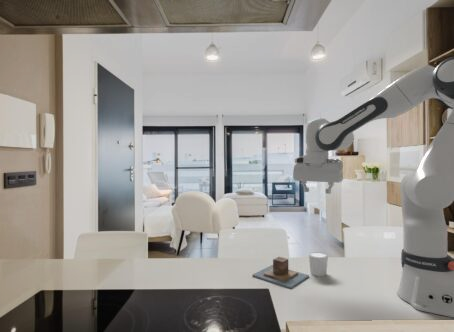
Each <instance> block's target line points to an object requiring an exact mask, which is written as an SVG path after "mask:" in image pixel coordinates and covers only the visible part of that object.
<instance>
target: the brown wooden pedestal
mask: <svg viewBox="0 0 454 332" xmlns="http://www.w3.org/2000/svg"><path fill="white" fill-rule="evenodd" d="M272 265H273V269H271V270H269V271H267V272H265V273H264V276H267V277H270V278H273V279H276V280H280V281H283V282H287V281H288V280H290V279H291V278H293V277H295V276H296V275H298V271H296V272H295V270H292V271H291V269H289V258H286V257H282V256H278V257H276V258H273V259H272Z"/></svg>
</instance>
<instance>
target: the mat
mask: <svg viewBox="0 0 454 332" xmlns="http://www.w3.org/2000/svg"><path fill="white" fill-rule="evenodd" d="M271 269H273V264H271V265H269V266H267V267H265V268H263V269H261V270H259V271H257V272H255V273H253V274H252V277H254V278H256V279H260V280H263V281H267V282H269V283H272V284H275V285H278V286H281V287H284V288H287V289H293V288H295V287H296V286H297V285H299V284H300V283H302V282H303V281H305V280H306V279H308V278H310V275H309V274H307V273H303V272H298V271H295V270H294V271H295V272H298V275H296V276H295V277H293V278H291V279H290V280H288V281H287V282H283V281H280V280H276V279H273V278H270V277H267V276H264V273H265V272H267V271H269V270H271ZM290 270H291V269H290ZM291 271H293V270H291Z"/></svg>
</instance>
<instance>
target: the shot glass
mask: <svg viewBox="0 0 454 332" xmlns="http://www.w3.org/2000/svg"><path fill="white" fill-rule="evenodd" d="M328 258H329V255H328V254H326V253H324V252H318V251H317V252H316V251H315V252H310V253H308V259H309V261H308V262H309V271H310V274H311V275H313V276H316V277H324V276H327V270H328V269H327V268H328Z"/></svg>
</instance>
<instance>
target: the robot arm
mask: <svg viewBox="0 0 454 332" xmlns="http://www.w3.org/2000/svg"><path fill="white" fill-rule="evenodd" d="M429 99H436V101H437V102H438V103H439V104H442V105H443V106H445V107H447V108H449V109H450V110H451V113H450V114H449V116H448V117H447V119H446V120H445V121H444V123H443V125H442V126H441V127H440V129H439V131H437V133H436V135H435V136H434V138H433V139H432V141H431V142H430V144H429V145H428V147H427V150H426V151H425V154H424V156H423V158H422V160H421V162H420V164H419V166H418V168H417V169H416V170H411V171H410V172H408V173H406V174H405V175H404V176H403V178H402V179H401V181H400V201H401V202H400V203H401V213H402V216H401V217H402V223H403V225H402V226H403V230H402V231H403V232H402V234H403V236H402V237H403V240H402V241H403V246H402V247H403V248H402V249H401V252H400V253H401V257H400V261H401V262H400V263H401V268H402V271H401V278H400V283H399V286H398V289H397V291H396V292H397V295H398V297H399V298H401V299H402V301H403V300H404V301H405V302H407V303H409V304H410V305H411V306H412V307H413V308H414V309H416V310H418V311H422V312H426V313H430V314H435V315H439V316H445V317H450V318H454V257H452V256H450V255H449V254H448V226H447V223H446V218H445V214H444V209H445V208H447V207H449V206H450V205H451V204H453V202H454V56H451V57H448V58H446V59H444V60H442V61H441V62H439V64H438V65H436V67H434V66H432V65H429V64H423V65H421V66H418V67H416V68H414V69H411V71H409V72H406V73H405V74H403V75H402V76H400V77H399V78H398V79H396V80H394V81H393V82H392V83H390V84H388V86H386V87H385V88H384V89H382V90H381V91H380V92H378V93H377V94H376V95H374V96H373V97H372V98H370V99H369V100H367V101H366V102H364V103H362V104H361V105H358V107H356V108H354V109H353V110H352V111H350V112H348V113H347V114H345V115H344V116H342V117H340V118H338V119H337V120H334V121H328V120H327V118H316V119H312V120H310V121H309V122H308V123H307V125H306V129H305V130H306V131H305V144H306V150H305V154H304V155H302V156H299V157H296V158H294V163H295V164H294V166H293V170H292V171H293V173H292V178H293V180H294V181H295V182H296V181H297V182H301V183H300V184H301V186H302V188H303V192H304V193H309V192H310V187H308V186H307V183H308V182H313V183H314V182H316V183H317V182H318V183H319V182H321V183H328V184H327V185H328V187H327V188H325V194H331V193H332V188H333V187H334V185H335V184H334V183H342V182H343V180H344V175H343V161H342V160H340V159H339V158H329V151H345V150H347V149H349V148H350V147H351V146H352V145H353V143H354V139H355V138H354V133H353V132H355V131H357V130H359V129H361V128H362V127H364V126H365V125H367V124H368V123H370V122H373V121H376V120H381V119H392V118H396V117H398V116H401V115H403V114H406V113H407V112H409V111H411V110H413V109H414V108H415V107H417V106H418V105H420V104H422V103H424V102H425V101H427V100H429Z"/></svg>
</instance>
